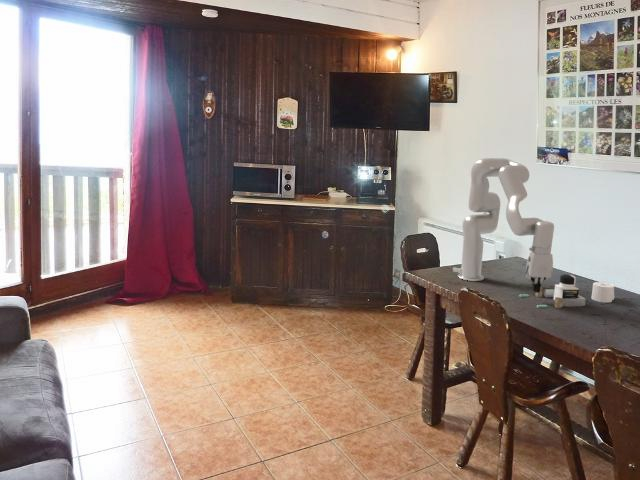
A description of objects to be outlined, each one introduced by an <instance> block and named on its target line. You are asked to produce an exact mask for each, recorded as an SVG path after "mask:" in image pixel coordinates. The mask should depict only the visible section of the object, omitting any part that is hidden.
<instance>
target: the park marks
mask: <svg viewBox="0 0 640 480" xmlns="http://www.w3.org/2000/svg"><path fill="white" fill-rule="evenodd" d="M519 297H520V298H528V297H530V295H529V294H519ZM536 308H538V309H539V308H542V309H543V308H548V306H547V304H537V305H536Z"/></svg>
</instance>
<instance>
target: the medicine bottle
mask: <svg viewBox="0 0 640 480" xmlns="http://www.w3.org/2000/svg"><path fill="white" fill-rule="evenodd" d="M559 277H560V278H559V283H558V284H554V289H555V290H554V297H553V300H554V301H555V297H560V298H578V295H579V291H580V288H578V287H576V279H577V277H576V276H574V275H572V274H561V275H560V276H559Z"/></svg>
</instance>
